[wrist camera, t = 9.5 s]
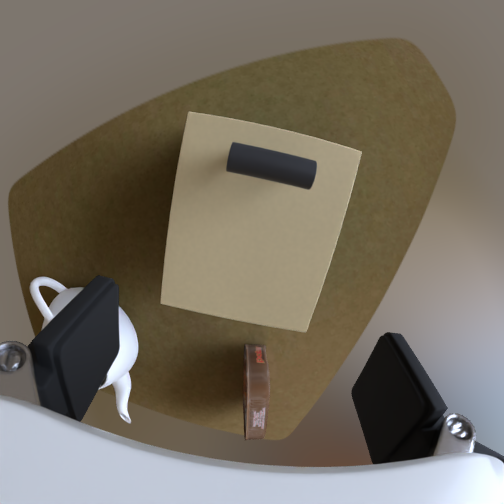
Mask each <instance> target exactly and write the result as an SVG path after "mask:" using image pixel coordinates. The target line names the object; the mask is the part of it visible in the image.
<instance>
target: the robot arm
mask: <svg viewBox="0 0 504 504" xmlns="http://www.w3.org/2000/svg"><path fill="white" fill-rule="evenodd" d="M119 349H120V339H119V287H118V285H117V284H115V282H114V280H113V279H111V278H107V277H103V276H100V275H98V276H96V277H95V278H94V279H93V280H92V281H91V282H90V283H89V284H88V285H87V286H86V287H85V288H84V289H83V290H82V291H80V292H79V293H78V294H77V295H76V296H75V297H74V298H73V299H72V300H71V301H70V302H69V303H68V304H67V305H66V306H65V307H64V308H63V309H62V310H61V311H60V312H59V313H58V314H57V315H56V316H55V317H54V318H53V319H52V320H51V321H50V322H49V323H48V324H47V325H46V326H45V327H44V328H43V330H42V331H41V332H40V333H39V334H38V335H37V336H36V337H35V338H34V339H33V340H32V342H31V343H30V344H29V345H28V347H27V346H26V345H24V344H23V343H20V342H17V341H6V342H2V343H0V504H504V456H502V455H500V454H499V453H497V452H495V451H493V450H491V449H489V448H487V447H485V446H484V445H482V444H480V443H478V442H476V441H475V436H476V431H475V429H474V426H473V425H472V423H471V422H470V421H469V420H468V419H467V418H466V417H464V416H463V415H460V414H456V413H452V414H449V415H448V416H446V417H445V418H444V416H443V414H444V413H445V411H446V410H447V406H446V405H445V403H444V401H443V399H442V398H441V396H440V394H439V393H438V391H437V389H436V388H435V386H434V384H433V383H432V381H431V379H430V378H429V376H428V375H427V373H426V371H425V370H424V368H423V367H422V365H421V363H420V362H419V360H418V359H417V357H416V356H415V354H414V353H413V351H412V349H411V348H410V347H409V345H408V343H407V342H406V340H405V339H404V337H403V336H402V335H401V334H398V333H390V332H387V333H385V334H384V336H381V337H380V338H379V340H378V342H377V344H376V346H375V348H374V350H373V352H372V354H371V355H370V357H369V359H368V361H367V363H366V365H365V367H364V369H363V370H362V372H361V374H360V376H359V377H358V379H357V381H356V383H355V384H354V386H353V388H352V399H353V401H354V404H355V408H356V411H357V414H358V417H359V420H360V424H361V427H362V430H363V433H364V436H365V440H366V443H367V446H368V450H369V453H370V456H371V460H372V463H373V465H362V466H344V467H289V466H272V465H258V464H249V463H240V462H233V461H225V460H219V459H213V458H206V457H201V456H196V455H190V454H186V453H181V452H176V451H172V450H168V449H164V448H160V447H156V446H152V445H148V444H145V443H141V442H138V441H135V440H131V439H128V438H125V437H122V436H118V435H115V434H112V433H109V432H106V431H103V430H101V429H98V428H95V427H92V426H89V425H87V424H84V423H82V422H80V421H81V420H82V419H83V417H84V415H85V413H86V411H87V409H88V407H89V406H90V404H91V402H92V400H93V398H94V396H95V395H96V393H97V391H98V389H99V387H100V385H101V384H102V382H103V380H104V378H105V376H106V375H107V373H108V371H109V369H110V368H111V366H112V364H113V362H114V361H115V359H116V357H117V355H118V353H119Z"/></svg>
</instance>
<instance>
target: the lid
mask: <svg viewBox="0 0 504 504" xmlns="http://www.w3.org/2000/svg"><path fill="white" fill-rule="evenodd" d="M361 153H362V152H361V151H358V150H355V149H352V148H349V147H346V146H342V145H339V144H336V143H332V142H329V141H326V140H322V139H318V138H315V137H311V136H307V135H304V134H300V133H296V132H292V131H288V130H284V129H279V128H275V127H271V126H266V125H262V124H257V123H252V122H247V121H242V120H237V119H231V118H226V117H220V116H214V115H208V114H201V113H194V112H188V115H187V120H186V125H185V130H184V134H183V140H182V145H181V150H180V155H179V161H178V166H177V172H176V178H175V184H174V191H173V197H172V204H171V211H170V218H169V225H168V233H167V241H166V250H165V259H164V268H163V279H162V290H161V302H160V303H161V304H164V305H168V306H173V307H177V308H181V309H186V310H190V311H195V312H199V313H204V314H208V315H213V316H218V317H223V318H228V319H233V320H238V321H243V322H248V323H253V324H259V325H264V326H270V327H276V328H282V329H288V330H294V331H300V332H306V330H307V328H308V325H309V322H310V320H311V317H312V314H313V311H314V309H315V306H316V303H317V300H318V297H319V295H320V292H321V289H322V286H323V283H324V280H325V277H326V274H327V271H328V268H329V265H330V262H331V259H332V256H333V253H334V249H335V246H336V243H337V240H338V237H339V233H340V230H341V227H342V223H343V220H344V216H345V213H346V210H347V206H348V202H349V199H350V195H351V192H352V188H353V184H354V181H355V177H356V173H357V169H358V165H359V161H360V157H361Z"/></svg>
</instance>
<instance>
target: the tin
mask: <svg viewBox="0 0 504 504" xmlns="http://www.w3.org/2000/svg"><path fill="white" fill-rule="evenodd" d="M269 398H270V373H269V365H268V361H267V357H266V346H265V345H247V344H245V345H244V373H243V413H244V436H245V440H248V439H263V438H264V437H265V433H266V426H267V418H268V408H269Z"/></svg>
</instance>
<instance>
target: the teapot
mask: <svg viewBox="0 0 504 504" xmlns="http://www.w3.org/2000/svg"><path fill="white" fill-rule="evenodd" d="M39 286H48V287H50V288H52V289H54V290H56V291H57V292H58V293H60V294H59V295H57V296H56V297H55V298H54V300H53V301H52V303H51V304H50V306H49V307H48V306H47V305H46V303H45V301H44V300H43V298H42V296H41V294H40V291H39ZM83 289H84V288H83V287H77V288H70V289H67V288H66V287H64V286H63V285H62V284H60V283H59V282H57V281H56V280H54V279H51V278H48V277H38V278H36V279H34V280H33V281H32V282H31V284H30V292H31V295H32V297H33V299H34V301H35V303H36V305H37V307H38V308H39V310H40V312H41V313H42V315H43V316H44V322H43V326H42V330H43V328H44V327H45V326H46V325H47V324H48V323H49V322H50V321H51V320H52V319H53V318H54V317H55V316H56V315H57V314H58V313H59V312H60V311H61V310H62V309H63V308H64V307H65V306H66V305H67V304H68V303H69V302H70V301H71V300H72V299H73V298H74V297H75V296H76V295H77V294H78V293H79V292H80V291H82V290H83ZM42 330H41V331H42ZM119 339H120V349H119V353H118V355H117V357H116V359H115V361H114V362H113V364H112V366H111V368H110V369H109V371H108V373H107V375H106V376H105V378H104V380H103V382H102V384H101V385H100V387H99V389H101V388H104V387H106V386H108V385H110V384H112V385H113V386H114V389H115V393H116V405H117V409H118V413H119V415H120V416H121V417H122V419H123V420H125V421H126V422H128V423H131V420H130V417H129V415H128V412H127V402H128V398H129V394H130V389H131V379H130V375H129V372H128V371H129V370H130V369H131V367H132V366H133V364H134V363H135V361H136V358H137V354H138V340H137V334H136V332H135V329H134V327H133V324H132V323H131V321H130V319H129V318H128V316H127V315H126V314H125V312H124V311H123V310H122V308H121V307H120V306H119ZM99 389H98V390H99Z"/></svg>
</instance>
